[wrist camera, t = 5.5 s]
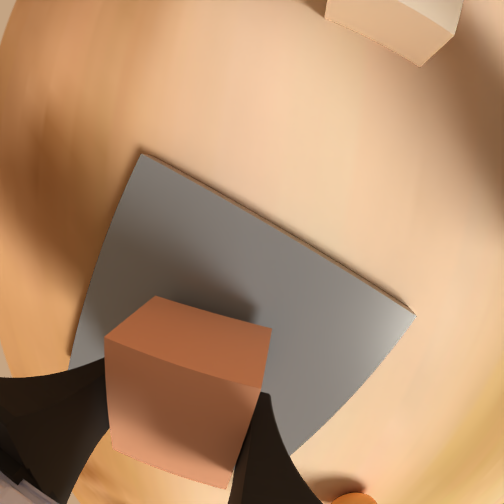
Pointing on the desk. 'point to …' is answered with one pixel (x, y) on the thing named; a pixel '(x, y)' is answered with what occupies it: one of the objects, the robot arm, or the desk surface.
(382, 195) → the desk surface
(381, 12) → the cream brick
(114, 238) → the baseplate
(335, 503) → the figurine
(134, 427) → the terracotta brick
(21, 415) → the robot arm
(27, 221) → the desk surface
